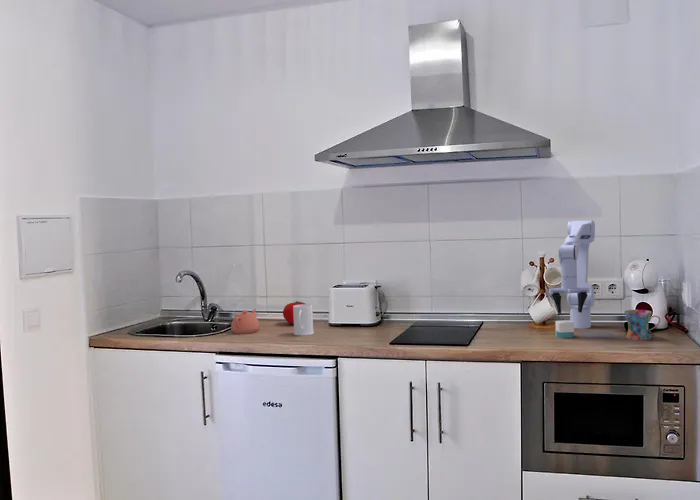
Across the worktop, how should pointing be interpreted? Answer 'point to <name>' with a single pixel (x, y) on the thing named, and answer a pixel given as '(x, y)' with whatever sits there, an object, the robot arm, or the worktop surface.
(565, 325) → the white block
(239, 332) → the teapot
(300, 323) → the mug
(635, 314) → the mug
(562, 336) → the bowl
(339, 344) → the worktop surface
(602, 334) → the mat
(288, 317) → the tomato
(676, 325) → the worktop surface
